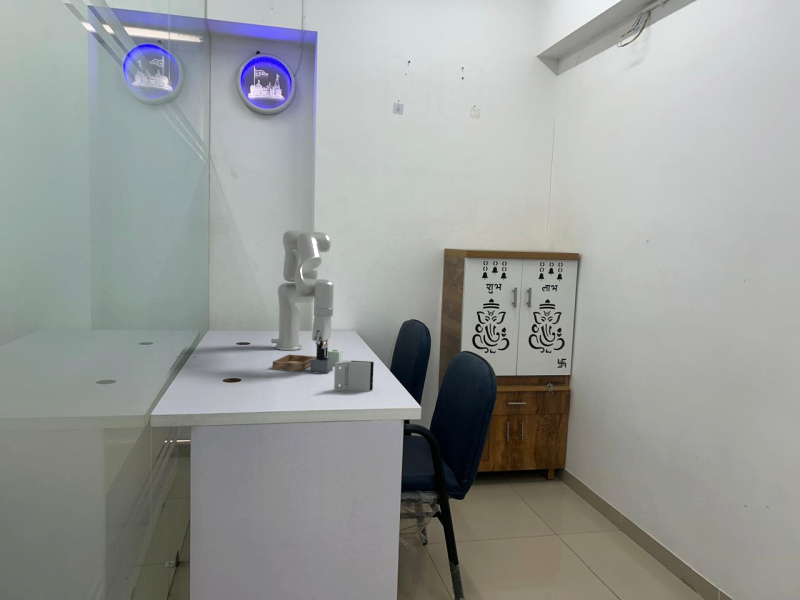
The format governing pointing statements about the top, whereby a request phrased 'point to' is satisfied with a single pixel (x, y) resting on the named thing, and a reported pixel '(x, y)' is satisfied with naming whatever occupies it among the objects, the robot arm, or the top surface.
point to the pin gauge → (325, 350)
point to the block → (321, 365)
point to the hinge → (353, 375)
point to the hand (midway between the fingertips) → (321, 357)
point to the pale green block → (335, 355)
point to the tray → (293, 362)
